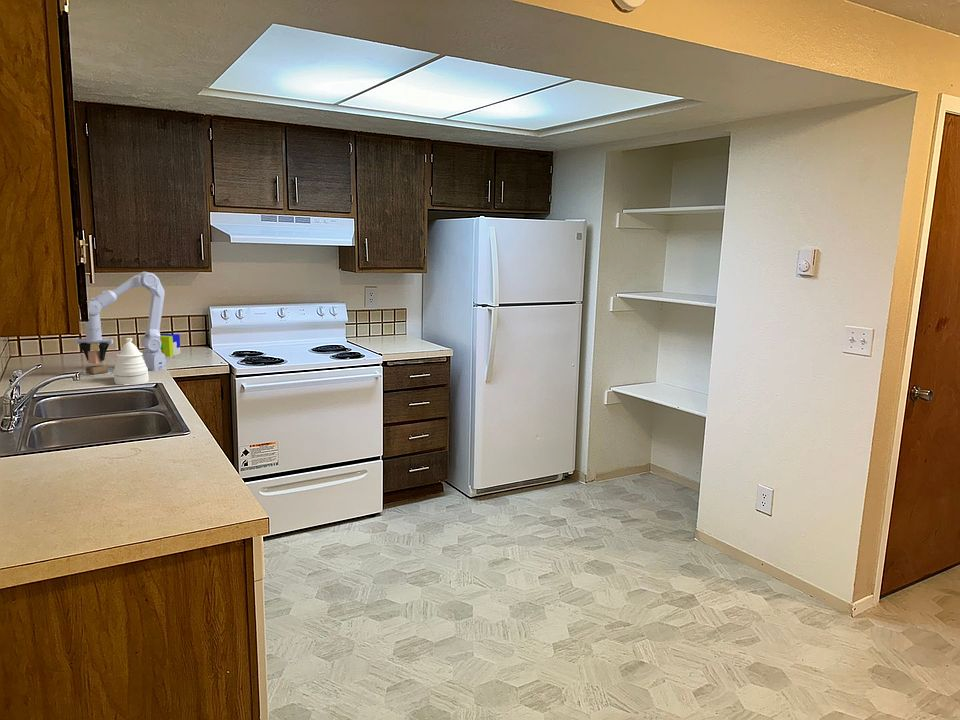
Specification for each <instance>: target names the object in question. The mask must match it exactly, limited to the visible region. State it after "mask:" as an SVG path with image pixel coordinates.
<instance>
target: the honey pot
mask: <svg viewBox="0 0 960 720" xmlns="http://www.w3.org/2000/svg"><path fill="white" fill-rule="evenodd" d="M125 342H126V343H125V344H123V346H122V348H121V349H120V351H119V352H118V353H116V354H115V357H116V359H117V360H116V361H115V366H114V367H115V369H114V373H113V382H114V384H115V383H117V384H116V385H118V384H129V385H130V384H134V385H140V384H146V383H147V382H149V380H150V379H149V370H148V368H147V367H146V364H145V361H144V357H143V356H144V355H143V352H141V351H140V350H139V348H138V347H137V346H136V345H135V344H134V343H133V337H127V338H125ZM129 385H128V386H129ZM130 386H131V385H130Z"/></svg>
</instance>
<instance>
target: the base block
mask: <svg viewBox="0 0 960 720" xmlns="http://www.w3.org/2000/svg"><path fill="white" fill-rule="evenodd" d="M107 368H108V366H107V365H103V364H93V365H87V366H85V372H86V374H90V375H99V374H105V373H108V370H107Z"/></svg>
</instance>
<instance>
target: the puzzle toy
mask: <svg viewBox="0 0 960 720" xmlns="http://www.w3.org/2000/svg"><path fill="white" fill-rule="evenodd" d="M180 336H181V335H180V334H178V333H176V334H175V333H160V340H161V343H162V345H161V348H160V349H161V352H162V353H163V354H164V355H165V356H166V357H169V358H170V357H173V356H176V355H180V354H181V341H180V340H181V338H180Z"/></svg>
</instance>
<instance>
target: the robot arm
mask: <svg viewBox="0 0 960 720" xmlns="http://www.w3.org/2000/svg"><path fill="white" fill-rule="evenodd" d="M142 287H144V288H146V289H147V290H148V291H149V293H150V294H151V299H150V307H149V314H148V315H149V316H148V320H147V328H146V331H145V333H144V337H143V338H142V339H141V344H142V346H143V347H144V349H142V351H143V352H142V353H143V355H142V356H143V360H144V361H145V364H146V367H147V368H148V371H153V372H155V371H161V370H167V358H166V357H167V356H165V355H164V354H163V353H162V352H161V349H160V348H161V345H162V343H161V340H160V334H161V332H160V329H161V322H162V315H163V308H164V300H165V295H166V293H165V292H166V291H165V289H164V287H163V285H162V283H161V281H160V278H159V277H157V275H156V274H154V273H152V272H148V271H141V272H140V273H139V274H136V275H133V276H132V277H129V279H127V280H125V281H124V282H123V283H121V284H120V285H118V286H117V287H115V288H114V289H112V290H110V289H106V290H102V291H101V292H100V293H99V294H98V295H96V296H95V297H91V298H90V299H91V300H87V301H88V308H89V321H88V322H85V321H84V323H85V324H84V325H85V338H75V339H74V342H75V345H79V347H80V348H81V350H82V352H83V354H84V355H85V358H86V361H87V362H88V351H91V345H92V344H93V345H96V344H97V345H98V349H99V351H100V359H101V361H103V362H104V361H105V360H106V359H105V357H106V353H107V350H108V348H109V346H110V345H113V344H114V339H113V338H104V337H102V335H103V334H102V325H101V317H100V316H101V315H100V314H101V312H102V310H104V309H106V308H107V307H109V306H110V305H112V304H114V303H115V302H117V299H118V297H119V296H121V295H123V294H125V293H126V292H127V291H129V290H131V289H133V288H142Z"/></svg>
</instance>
